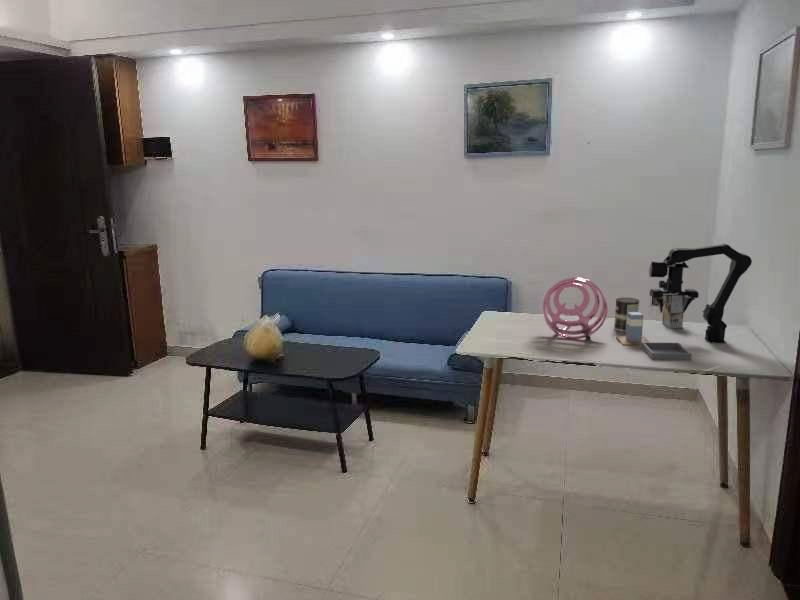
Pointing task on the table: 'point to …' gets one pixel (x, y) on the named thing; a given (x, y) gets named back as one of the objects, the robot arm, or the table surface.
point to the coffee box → (673, 311)
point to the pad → (625, 342)
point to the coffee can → (624, 311)
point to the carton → (634, 326)
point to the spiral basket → (577, 311)
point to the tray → (666, 351)
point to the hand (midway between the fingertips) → (672, 312)
